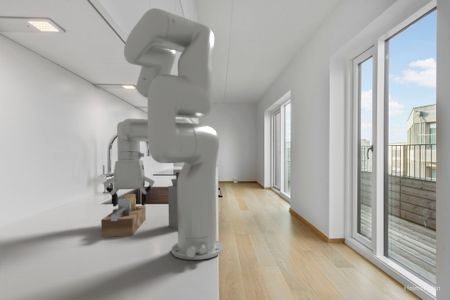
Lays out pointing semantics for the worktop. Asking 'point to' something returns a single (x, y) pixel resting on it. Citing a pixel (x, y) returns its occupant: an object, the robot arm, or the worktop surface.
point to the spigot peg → (133, 200)
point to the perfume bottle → (173, 203)
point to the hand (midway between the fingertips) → (129, 205)
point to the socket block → (123, 222)
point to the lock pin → (121, 209)
